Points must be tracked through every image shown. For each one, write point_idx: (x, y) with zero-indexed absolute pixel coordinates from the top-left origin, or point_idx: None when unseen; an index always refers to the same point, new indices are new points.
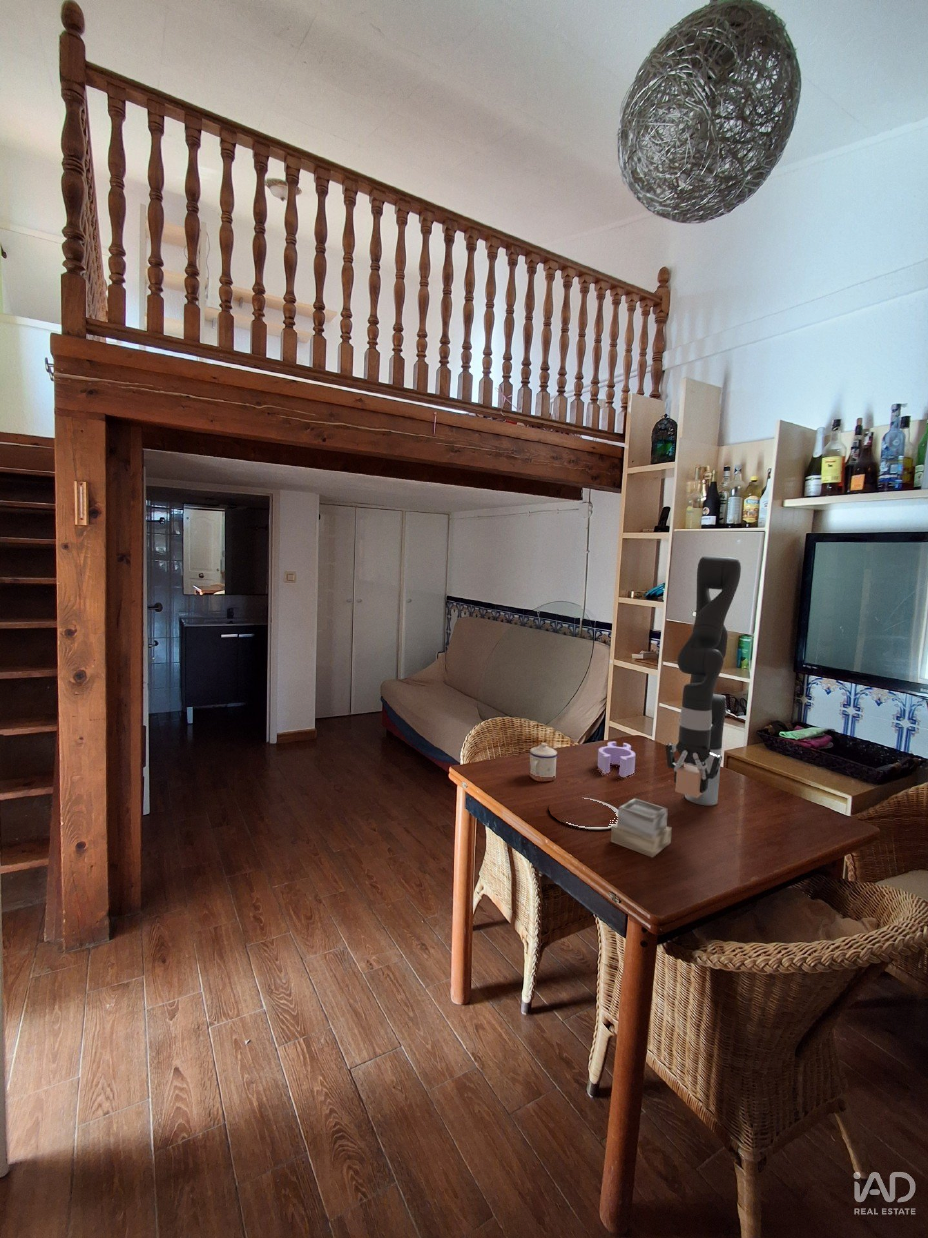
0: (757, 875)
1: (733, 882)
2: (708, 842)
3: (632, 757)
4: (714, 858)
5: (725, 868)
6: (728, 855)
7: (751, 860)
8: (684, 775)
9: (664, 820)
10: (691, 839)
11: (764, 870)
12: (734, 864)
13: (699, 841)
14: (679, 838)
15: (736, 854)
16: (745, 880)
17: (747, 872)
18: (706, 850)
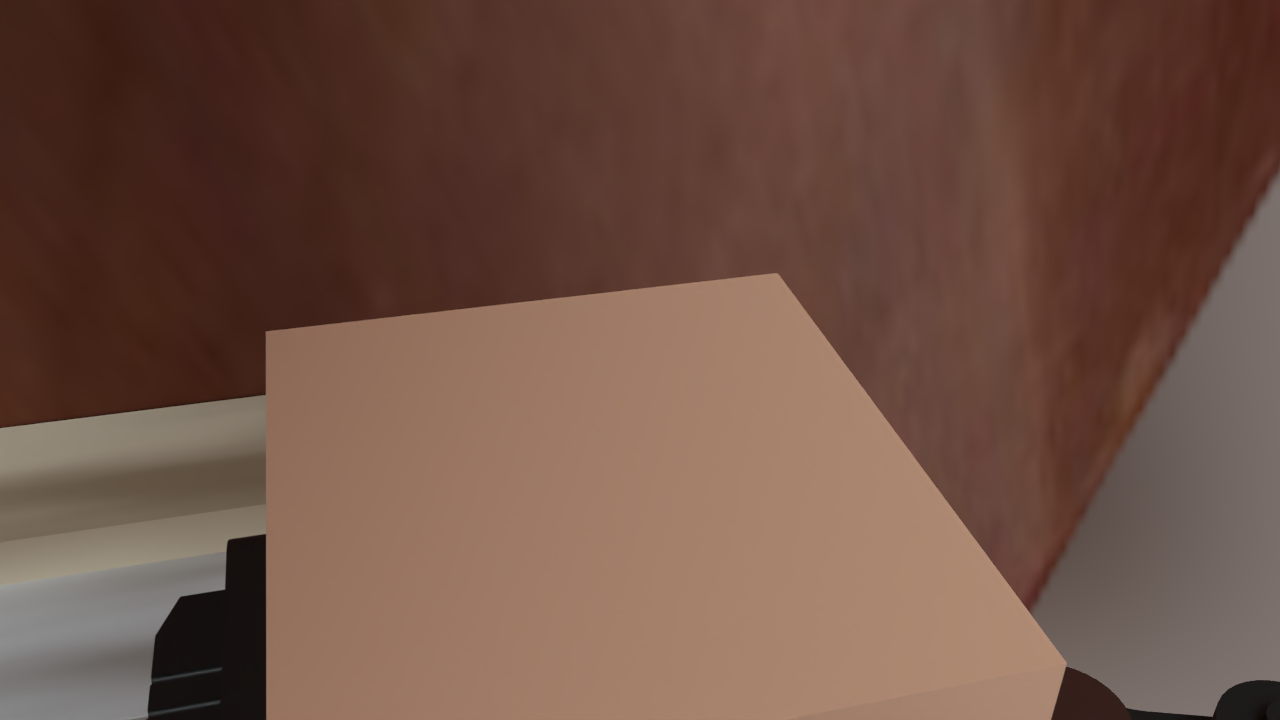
0: (1167, 296)
1: (1018, 536)
2: (663, 8)
3: None
4: (819, 315)
5: (935, 400)
6: (913, 142)
7: (1115, 55)
8: None
9: None
10: (485, 102)
11: (1221, 159)
12: (988, 272)
13: (576, 74)
14: (374, 198)
15: (977, 48)
16: (1089, 443)
17: (1095, 315)
18: (711, 223)
